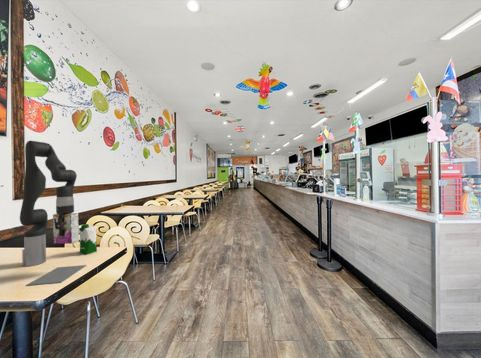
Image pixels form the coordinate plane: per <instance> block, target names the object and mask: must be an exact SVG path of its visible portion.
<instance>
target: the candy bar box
mask: <svg viewBox="0 0 481 358" xmlns="http://www.w3.org/2000/svg"><path fill="white" fill-rule="evenodd" d="M58 217H59V214H56V213H53V214H52V229H53V230H52V233H53V234H52V236H53V238H52V239H53V240H52V241H53V245H55V244H56V245H57V244H58V245H60V244H61V245H63V244H65V245H66V244H74V243H77V242H80V233H79V228H80V227H79V224H80V223H79V212H73V213H68V214H65V215H64V222H66V224H65V228H64V229H65V236H59V230H58V229H55V222H54V219H55V218H58ZM64 222H62V223H64ZM58 226H59V225H58ZM62 227H63V225H62Z"/></svg>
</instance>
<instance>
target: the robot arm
mask: <svg viewBox="0 0 481 358" xmlns="http://www.w3.org/2000/svg"><path fill="white" fill-rule="evenodd" d="M24 149H25V150H24V153H25V154H24V155H25V156H24V157H25V158H24V159H25V160H24V161H25V170H24V171H25V172H24V180H23V196H22V197H23V198H22V203H21V208H20V212H19V213H20V214H19V222H20V224H21V225H23V226H24V227H29V226H32V227H31V228H30V229H28V230H27V231H25V232H24V233H23V237H24V238H23V241H24V243H23V248H24V249H22V250H21V254H22V255H21V256H22V257H21V259H22V260H21V261H22V266H24V267H30V266H31V267H32V266H36V265H41V264H44V263H45V262H46V261H47V246H46V245H47V244H46V243H47V241H46V240H47V239H46V237H47V236H46V235H47V234H46V233H47V229H48V219H49V218H48V216H49V215H48V213H47V210H46V209H43V208H36V209H35V205H36V202H37V200H39V198H40V197H41V195H42V194H43V193H44V191H45V190H46V186H47V185H46V182H47V178H46V175H45V174H44V173H43V171H42V170H41V169H40V168H39V166H38V164H37V162H36V161H37V160H36V157H38V158H46V159H45V161H44V166H45V168H47V169H48V171H50V174H51V176H50V177H51V179H52V181H53V182H56V183H65V185H61V186H58V187H56V195H55V197H56V200H55V209H56V212H55V214H59V217H58V218H55V219H54V222H55V229H58V230H59V236H65V229H64V228H65V224H66V222H64V215H65V214H68V213H75V201H74V187H75V183H76V180H77V176H78V175H77V173H76V171H75V170H73V169H67V167H66V165H65V164H64V163H63V162H62V161H61V160H60V159H59V158H58V156H57V153H56V151H55V149H54V148H53V146H52V145H51V144H50V143H48V142H44V141H35V140H27V142H26V143H25V148H24ZM62 222H64V223H62ZM58 225H59V226H58ZM62 225H63V227H62Z"/></svg>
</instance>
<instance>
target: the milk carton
mask: <svg viewBox="0 0 481 358" xmlns="http://www.w3.org/2000/svg"><path fill="white" fill-rule="evenodd" d="M97 230H98V226H97V225H89V224H88V223H87V224H86V223H85V224H81V226H80V227H79V254H80V255H86V256H87V255H90V254H92V253H95V252H98V245H97Z"/></svg>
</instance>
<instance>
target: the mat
mask: <svg viewBox="0 0 481 358" xmlns="http://www.w3.org/2000/svg"><path fill="white" fill-rule="evenodd" d="M86 267H87V264H81V265H72V266H71V265H70V266H59V267H56V268H54V269H52V270H51V271H50V270H49V272H46V273H45V274H43V275H42V276H39V277H37V278H36V279H34V280H32V281H30V282H29V283H27V284H25V287H31V286H40V285H52V284H61V283H63V282H64V281H66V280H67V279H69V278H70V277H72V276H73V275H75V274H76V273H78V272H79V271H81V270H82V269H84V268H86Z"/></svg>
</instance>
